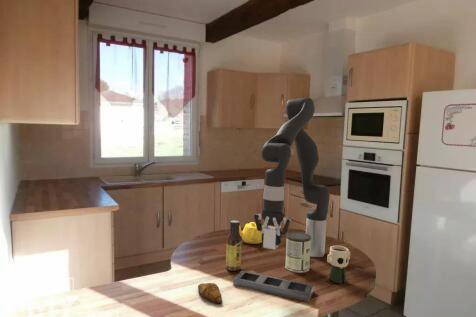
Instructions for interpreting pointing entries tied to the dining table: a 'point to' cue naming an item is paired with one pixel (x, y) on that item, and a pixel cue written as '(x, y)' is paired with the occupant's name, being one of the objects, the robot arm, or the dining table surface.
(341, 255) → the character mug
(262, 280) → the tray
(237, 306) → the dining table surface
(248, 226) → the teapot
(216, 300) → the croissant
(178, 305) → the dining table surface
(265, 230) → the white rectangular block
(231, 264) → the sauce bottle
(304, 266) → the coffee can
